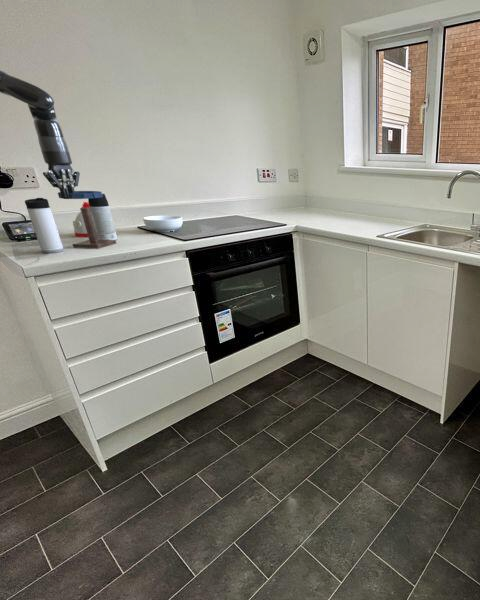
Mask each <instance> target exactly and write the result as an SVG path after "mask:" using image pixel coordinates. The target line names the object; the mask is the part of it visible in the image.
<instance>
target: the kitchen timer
mask: <svg viewBox="0 0 480 600" xmlns="http://www.w3.org/2000/svg"><path fill="white" fill-rule="evenodd" d="M81 208H90V206H89V203H88V201H87V202H86V201H83V202H82V205H81ZM90 211H91V210H90ZM92 218H93V217H92ZM72 225H73V231H74V235H75V237H77V238H89V237H88V234H87V230H86V227H85V224H84V220H83V217H82V213H81V211H79V212H78V214H77V215H76V217H75V219H74V220H72ZM94 225H95V224H94ZM95 229H96V228H95ZM97 236H98V235H97Z"/></svg>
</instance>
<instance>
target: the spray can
mask: <svg viewBox="0 0 480 600" xmlns="http://www.w3.org/2000/svg"><path fill="white" fill-rule="evenodd" d="M102 196H103V197H101V198H90V199H87V202H88V203H89V206H90V210H91V214H92V217H93V221H94V224H95V228H96V232H97V235H98V239H101V240H116V241H117V240H118V236H117V231H116V227H115V223H114V219H113V216H112V212H111V208H110V204H109V201H108V199H107V197H106V194H105V193H102Z"/></svg>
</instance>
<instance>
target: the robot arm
mask: <svg viewBox="0 0 480 600" xmlns="http://www.w3.org/2000/svg"><path fill="white" fill-rule="evenodd" d="M0 94H2V95H4V96H9V97H12V98H14V99H16V100H18V101H20V102H22V103H25V104H27V107H28V109H29V112H30V115H31V118H32V119H33V125H34V129H35V132H36V135H37V139H38V140H37V141H38V144H39V148H40V151H41V155H42V158H43V160H44V163H45V164H47V166H48V167H47V171H43V172H42V175H43V176H44V178H45V179H46V180H47V181H48V182H49V184H50V185H51V187H53V188H56V189H58V190H59V192H61V196H62V197H63V200H71V199H70V196H69V193H75V191H76V190H75V187H79V183H80V174H81V173H80V171H76V170H74V168H73V167H72V166H71V165H73V160H72V158H71V154H70V151H69V146H68V144H67V142H66V139H65V137H64V133H63V129H62V127H61V124H60V122H59V120H58V117H57V113H56V109H55V100H54V98H53V96H52V95H51V94H50V93H49V92H48V91H47V90H45V89H43V88H41V87H40V86H38V85H36V84H33V83H30V82H28V81H25V80H23V79H21V78H19V77H16V76H14V75H12V74H10V73H9V72H7V71H5V70H2V69H0Z"/></svg>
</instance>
